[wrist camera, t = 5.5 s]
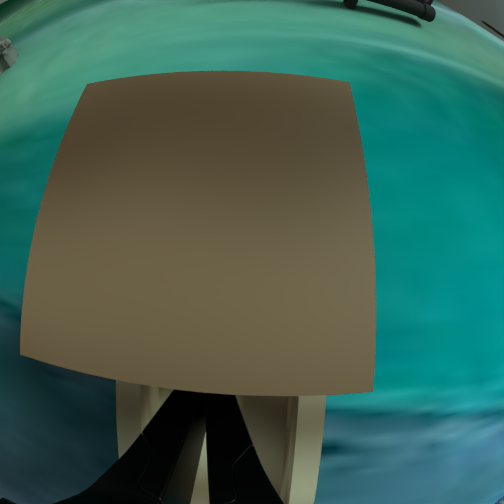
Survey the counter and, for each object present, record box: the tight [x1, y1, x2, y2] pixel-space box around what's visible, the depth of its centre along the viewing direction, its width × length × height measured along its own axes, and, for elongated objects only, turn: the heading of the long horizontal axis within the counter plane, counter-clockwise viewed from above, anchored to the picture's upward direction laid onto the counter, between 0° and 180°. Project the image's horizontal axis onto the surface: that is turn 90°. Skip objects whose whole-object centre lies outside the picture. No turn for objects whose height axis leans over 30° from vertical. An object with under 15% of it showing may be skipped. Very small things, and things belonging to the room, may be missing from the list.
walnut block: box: [20, 71, 376, 396], centre depth 10 cm, size 6×6×11 cm
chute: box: [116, 380, 326, 504], centre depth 14 cm, size 22×10×4 cm, turn 177°
